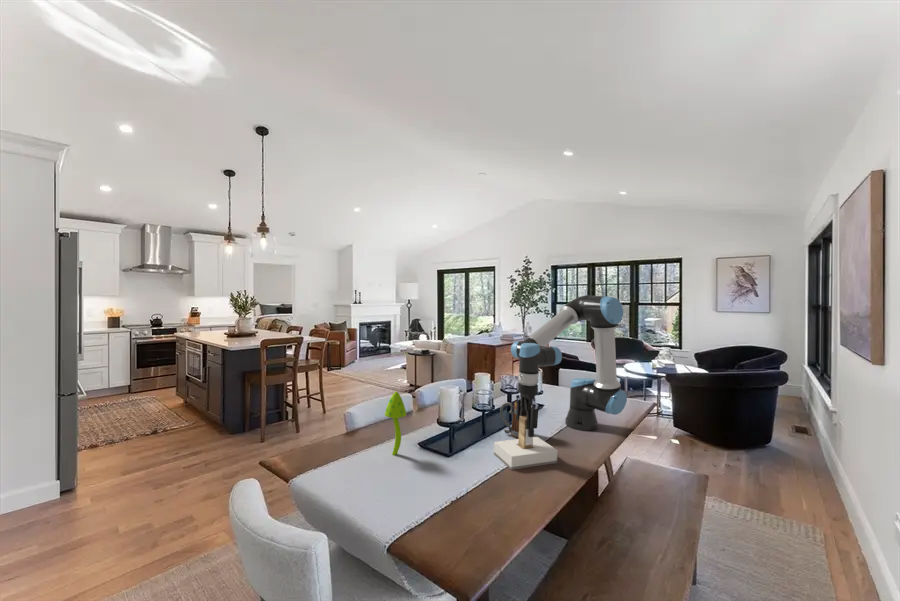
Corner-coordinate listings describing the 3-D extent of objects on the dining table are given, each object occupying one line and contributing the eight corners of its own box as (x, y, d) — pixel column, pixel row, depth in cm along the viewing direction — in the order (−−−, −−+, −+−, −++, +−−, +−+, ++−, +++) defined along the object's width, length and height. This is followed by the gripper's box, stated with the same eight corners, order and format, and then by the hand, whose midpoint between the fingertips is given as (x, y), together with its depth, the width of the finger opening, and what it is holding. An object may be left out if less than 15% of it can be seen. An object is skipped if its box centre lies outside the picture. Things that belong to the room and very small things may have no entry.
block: (536, 448, 170) (537, 436, 170) (556, 462, 157) (557, 450, 157) (493, 454, 163) (494, 441, 163) (511, 469, 150) (511, 456, 149)
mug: (532, 432, 188) (534, 400, 187) (535, 441, 177) (536, 407, 177) (498, 430, 190) (500, 398, 189) (499, 438, 179) (500, 405, 178)
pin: (526, 447, 162) (528, 415, 162) (532, 451, 158) (533, 418, 158) (518, 448, 161) (519, 416, 160) (523, 452, 157) (524, 419, 156)
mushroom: (388, 448, 164) (389, 387, 163) (407, 451, 163) (409, 389, 162) (380, 457, 156) (382, 393, 155) (401, 460, 155) (403, 395, 153)
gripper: (509, 378, 165) (506, 435, 166) (531, 389, 149) (528, 452, 150) (525, 377, 168) (522, 433, 169) (549, 388, 152) (546, 449, 153)
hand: (525, 441), depth 159 cm, fingers closed on pin, 4 cm apart
